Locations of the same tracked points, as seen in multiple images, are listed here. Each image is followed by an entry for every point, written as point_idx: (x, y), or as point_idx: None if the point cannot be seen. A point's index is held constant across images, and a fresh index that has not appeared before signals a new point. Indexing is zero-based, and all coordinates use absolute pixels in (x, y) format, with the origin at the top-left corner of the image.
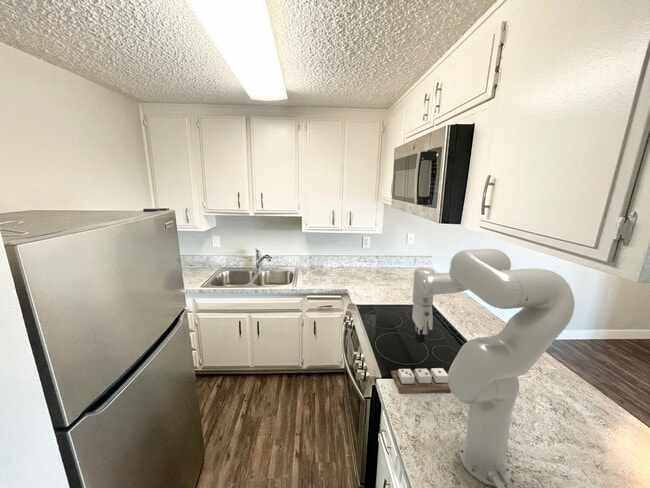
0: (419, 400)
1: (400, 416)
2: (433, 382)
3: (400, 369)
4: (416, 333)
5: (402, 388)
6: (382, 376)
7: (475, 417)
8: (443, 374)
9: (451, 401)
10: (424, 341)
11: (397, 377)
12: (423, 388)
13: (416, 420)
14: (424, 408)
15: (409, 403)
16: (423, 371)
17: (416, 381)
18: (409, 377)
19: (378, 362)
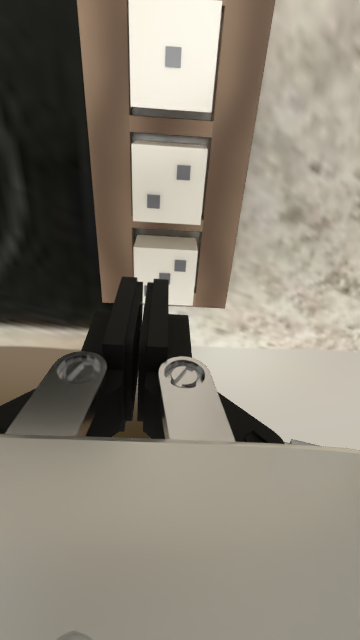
0: (271, 241)
1: (316, 329)
2: (199, 126)
3: None
4: (129, 416)
5: (216, 295)
6: None
7: None
8: (200, 40)
9: (319, 81)
10: (167, 282)
11: None
12: (232, 207)
13: (348, 290)
14: (313, 240)
15: (275, 284)
16: (159, 180)
17: None
18: (195, 273)
19: (28, 320)
